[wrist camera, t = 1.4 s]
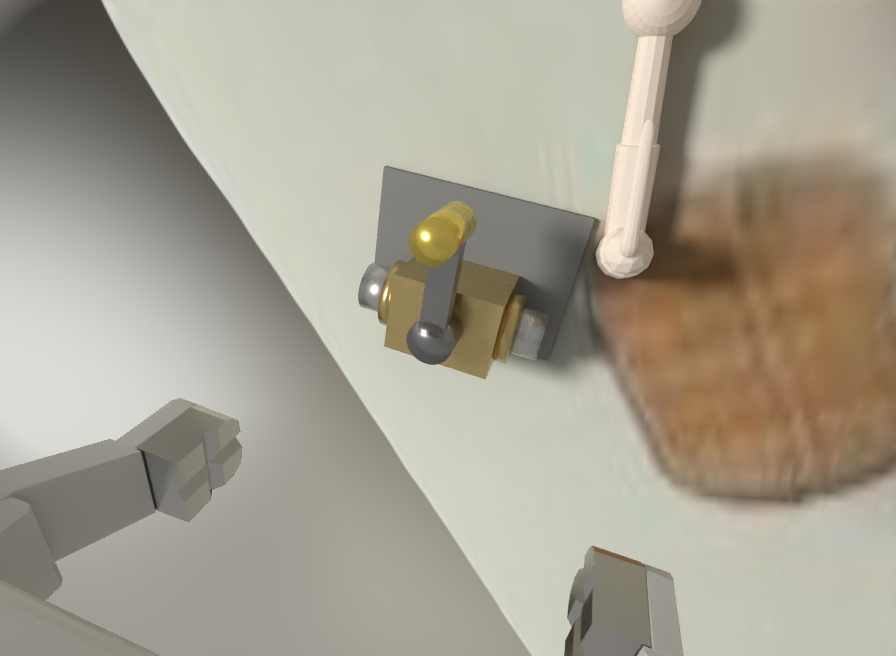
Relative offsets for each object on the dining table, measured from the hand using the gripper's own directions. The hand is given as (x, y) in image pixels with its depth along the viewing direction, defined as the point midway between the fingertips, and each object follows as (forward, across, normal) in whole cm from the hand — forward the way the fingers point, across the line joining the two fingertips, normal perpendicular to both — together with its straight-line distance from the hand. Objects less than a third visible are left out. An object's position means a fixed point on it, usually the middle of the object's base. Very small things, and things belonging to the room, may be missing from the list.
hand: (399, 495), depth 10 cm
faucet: (+28, +4, +6) cm, 29 cm away
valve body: (+27, -5, -8) cm, 29 cm away
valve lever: (+21, -5, -4) cm, 22 cm away
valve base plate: (+28, -5, -6) cm, 29 cm away
